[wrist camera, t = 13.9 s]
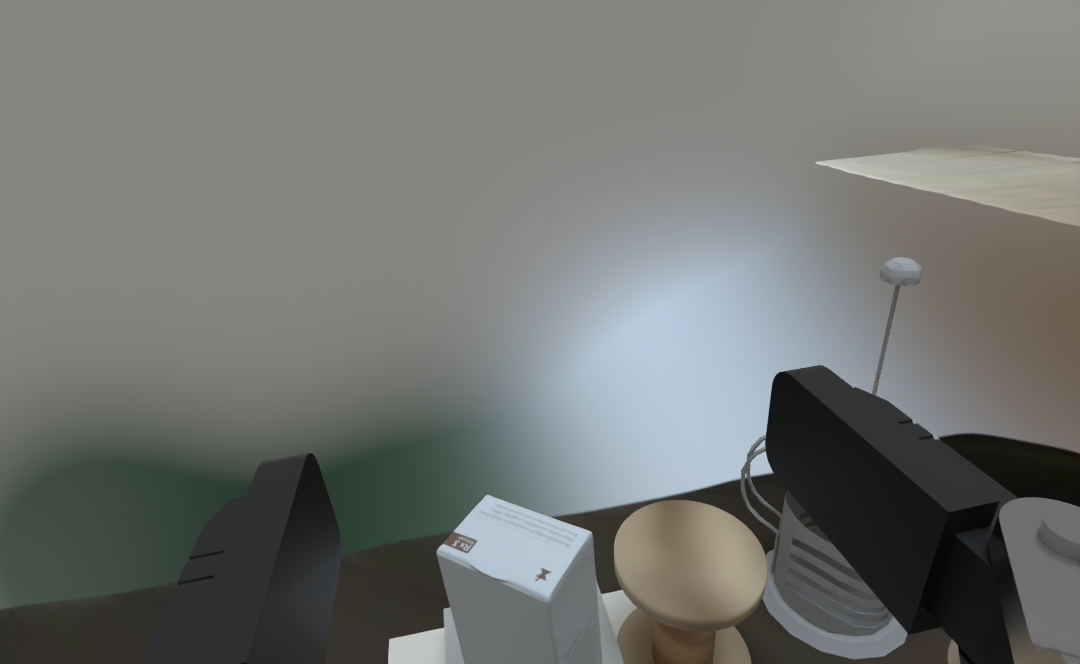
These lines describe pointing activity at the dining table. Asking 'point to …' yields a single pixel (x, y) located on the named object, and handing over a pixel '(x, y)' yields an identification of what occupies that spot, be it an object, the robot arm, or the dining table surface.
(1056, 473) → the dining table surface
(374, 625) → the dining table surface
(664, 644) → the bobbin
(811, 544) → the french press
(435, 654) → the notched board
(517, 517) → the skincare box
